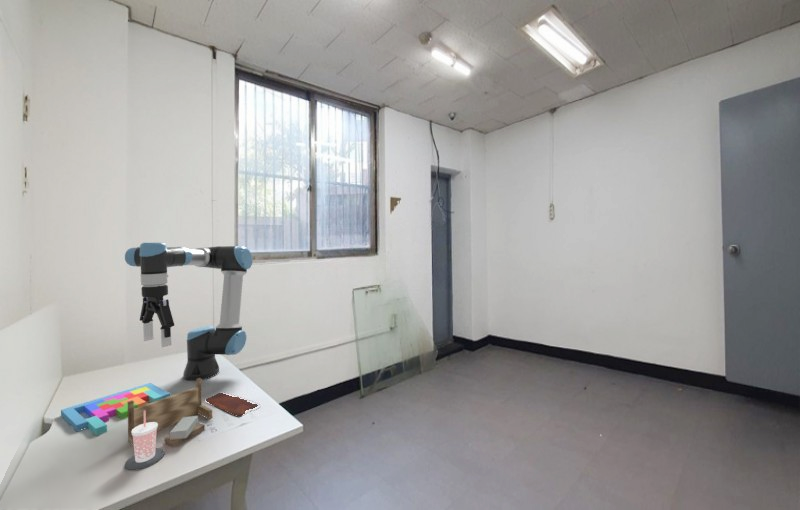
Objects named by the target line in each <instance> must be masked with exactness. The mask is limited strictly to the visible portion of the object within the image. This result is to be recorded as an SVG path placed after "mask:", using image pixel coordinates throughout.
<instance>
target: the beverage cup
mask: <svg viewBox="0 0 800 510" xmlns="http://www.w3.org/2000/svg"><path fill="white" fill-rule="evenodd" d="M157 427H158V423H157V422H148V423H146V410H144V424H141V425H139V426H136V427H135V428H133V429H132V431H131V433H132V435H133V443H134V445H133V450H134V451H133V453H134V455H135V461H136V462H138V463H139V462H145V461H147V460H150V459H151V458H153V457H154V456H155V448H157V447H156V446H157V432H158V431H157Z"/></svg>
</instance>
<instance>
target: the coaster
mask: <svg viewBox="0 0 800 510" xmlns="http://www.w3.org/2000/svg"><path fill="white" fill-rule="evenodd" d="M164 455H165V450H164V449H162V448H160V447H158V448H157V447H156V448H155V456H154V457H153V458H151V459H150V460H147V461H145V462H139V463H138V462H136V461H135V454H133V455H132V456H130V457H129V458H128V459H127V460H126V461H125V463H124V468H125V470H127V471H138V470H143V469H146V468H149V467H151V466H153V465H155V464H156V463H158V462H159V461H160V460H162V458H164Z"/></svg>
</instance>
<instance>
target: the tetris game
mask: <svg viewBox="0 0 800 510" xmlns="http://www.w3.org/2000/svg"><path fill="white" fill-rule="evenodd" d="M169 396H171V393H170V392H169V391H166V390H165V389H163V388H161V387H160V386H157V385H155V384H153V383H151V382H149V383H146V384H142V385H139V386H135V387H133V388H129V389H126V390H122V391H118V392H116V393H112V394H109V395H106V396H102V397H99V398H96V399H92V400H89V401H85V402H83V403H79V404H76V405H72V406H69V407H66V408H63V409H61V410H60V417H61V418H62V419H64V421H65V420H66V421H67V422H68V423H69V424H70V425H71V426H72V427H73V428H74V429H75V430H76V431H78V430H81V429H83V430H85V429H84V428H86V429H88V430H90V432H92V433H93V434H94V436H98V435H100V434H104V433H106V432H107V431H108V424H106V422H108V421H110V418H112V417H114V416H116V417H118V418H120V420H123V419H125V418H128V402H129V401H134V409H135V408H138V407H141V406H143V405H146V404H147V402H149V403H152V402H155V401H158V400H161V399H163V398H166V397H169ZM80 413H85V414H86V415H88V417H87V418H84V416H82V415H81V414H80ZM66 421H65V422H66ZM67 422H66V423H67ZM68 423H67V424H68ZM69 424H68V425H69ZM71 426H70V427H71ZM72 427H71V428H72ZM73 428H72V429H73ZM74 429H73V430H74ZM75 430H74V431H75ZM76 431H75V432H76ZM81 431H82V430H81ZM78 432H79V431H78Z"/></svg>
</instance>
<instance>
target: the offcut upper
mask: <svg viewBox="0 0 800 510" xmlns="http://www.w3.org/2000/svg"><path fill="white" fill-rule="evenodd" d="M198 423H199V415H194V416H191V417H183V418H182V419H181V420H180V421H179V422H177V423H176V425H175V426H174V427H173V428H172V430H171V431H170V432H169V435H170V440H173V439H182V438H187V437H188V435H189V434H190V433H191V432H192V430H193V429H194V428H195V426H196V425H197V424H198Z"/></svg>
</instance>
